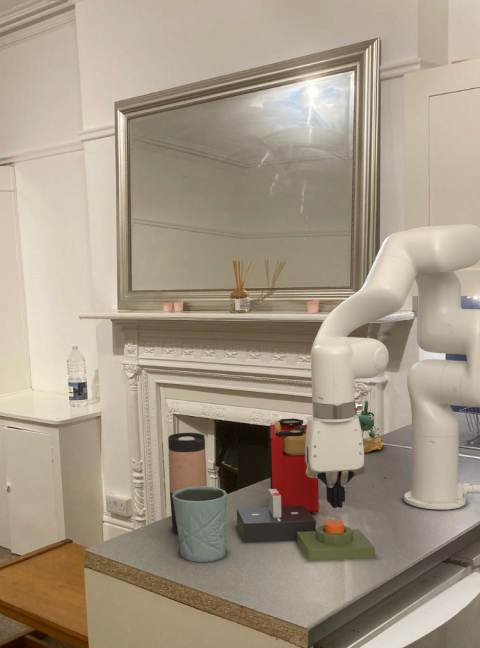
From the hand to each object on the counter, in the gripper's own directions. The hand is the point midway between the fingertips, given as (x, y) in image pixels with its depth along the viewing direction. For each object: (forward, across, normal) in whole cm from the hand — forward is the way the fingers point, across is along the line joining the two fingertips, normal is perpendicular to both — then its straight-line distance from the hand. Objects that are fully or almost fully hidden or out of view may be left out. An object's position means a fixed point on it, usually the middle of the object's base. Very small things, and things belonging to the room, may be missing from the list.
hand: (336, 505), depth 153 cm
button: (+5, +1, +1) cm, 5 cm away
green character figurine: (+11, -29, -78) cm, 85 cm away
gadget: (+9, +10, -10) cm, 17 cm away
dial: (+5, +10, -10) cm, 15 cm away
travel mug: (+8, +27, -14) cm, 32 cm away
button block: (+9, +1, +1) cm, 9 cm away
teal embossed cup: (+8, +26, 0) cm, 27 cm away
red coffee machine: (+9, +3, -26) cm, 28 cm away
